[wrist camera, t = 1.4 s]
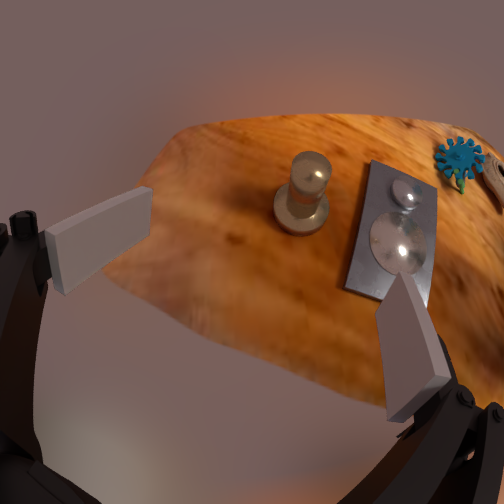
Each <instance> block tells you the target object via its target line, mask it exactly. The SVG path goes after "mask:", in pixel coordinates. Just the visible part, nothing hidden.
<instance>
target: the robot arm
mask: <svg viewBox="0 0 504 504" xmlns="http://www.w3.org/2000/svg"><path fill="white" fill-rule="evenodd" d="M152 196H153V189H151V188H148V187H144V186H141V187H138V188H136V189H133V190H131V191H128V192H125V193H123V194H120V195H118V196H116V197H113V198H111V199H108V200H106V201H104V202H101V203H99V204H97V205H94V206H92V207H90V208H88V209H85V210H83V211H81V212H79V213H77V214H75V215H73V216H70V217H68V218H66V219H64V220H62V221H60V222H58V223H56V224H54V225H52V226H50V227H48V228H46V229H45V230H44V231H42V232H40V233H38V226H37V218H36V213H35V212H33V211H28V210H27V211H21V212H18V213H15V214H14V215H12V216H11V217H10V218H9V220H10V226H11V233H12V236H11V235H8V231H7V225H6V224H3V223H0V504H102V503H101V502H99V501H98V500H97V499H96V498H94V497H93V496H91V495H89V494H88V493H86V492H85V491H84V490H82V489H81V488H79V487H78V486H77V485H75V484H74V483H73V482H71V481H69V480H67V479H66V478H64V477H63V476H61V475H59V474H58V473H56V472H55V471H53V470H52V469H50V468H48V467H47V466H46V465H44V464H43V458H42V452H41V447H40V444H39V441H38V439H37V437H36V435H35V432H34V427H33V390H34V389H33V388H34V372H35V361H36V351H37V344H38V337H39V330H40V324H41V318H42V313H43V308H44V304H45V299H46V294H47V290H48V284H47V280H48V279H50V278H51V277H52V279H53V283H54V288H55V289H56V290H57V291H59V292H60V293H62V294H63V295H65V296H66V295H67V294H68V293H70V292H71V291H72V290H73V289H75V288H76V287H77V286H79V285H80V284H81V283H82V282H84V281H85V280H87V279H88V278H89V277H91V276H92V275H93V274H95V273H96V272H97V271H99V270H100V269H101V268H103V267H104V266H106V265H107V264H108V263H110V262H111V261H113V260H114V259H115V258H117V257H118V256H120V255H121V254H122V253H124V252H125V251H127V250H128V249H130V248H131V247H133V246H134V245H136V244H137V243H138V242H140V241H141V240H143V239H144V238H146V237H147V236H149V234H150V219H151V207H152ZM375 316H376V322H377V328H378V334H379V341H380V348H381V356H382V364H383V373H384V382H385V394H386V408H387V421H391V422H399V423H404V422H405V421H406V420H407V419H409V418H410V417H411V416H412V415H414V423H413V424H412V425H411V426H409V427H408V428H407V429H406V430H404V431H403V432H402V433H400V434H399V435H398V436H397V438H399V437H401V438H400V439H399V440H398V441H397V443H396V444H395V445H394V446H393V447H392V449H391V450H390V451H389V452H388V453H387V454H386V456H385V457H384V458H383V459H382V460H381V461H380V462H379V463H378V464H377V466H376V467H375V468H374V469H373V470H372V471H371V472H370V473H369V474H368V475H367V476H366V477H365V478H364V479H363V480H362V481H361V482H360V483H359V484H358V485H357V486H356V487H355V488H354V489H353V490H352V491H350V492H349V493H348V494H347V495H346V496H345V497H344V498H343V499H342V500H340V501H339V502H338V503H337V504H497V500H498V495H499V490H500V485H501V480H502V474H503V467H504V409H503V407H502V406H500V405H499V404H498V403H496V402H491V403H490V404H489V405H488V406H487V407H486V408H485V409H484V410H483V409H481V408H479V407H477V406H475V399H474V397H473V395H472V393H471V392H470V391H469V389H468V388H466V387H465V386H463V385H460V384H458V381H457V378H456V374H455V371H454V368H453V365H452V362H451V361H450V360H451V359H450V356H449V354H448V351H447V348H446V345H445V343H444V342H443V340H442V339H441V337H440V336H439V335H438V334H436V331H435V328H434V326H433V323H432V321H431V318H430V316H429V313H428V311H427V309H426V306H425V304H424V302H423V299H422V297H421V295H420V293H419V290H418V288H417V286H416V284H415V282H414V280H413V277H412V275H410V274H407V273H404V272H402V271H399V272H398V274H397V275H396V277H395V279H394V281H393V283H392V285H391V287H390V288H389V290H388V292H387V294H386V296H385V297H384V299H383V301H382V303H381V304H380V306H379V308H378V309H377V311H376V313H375ZM473 451H474V455H473V457H472V458H471V459H470V460H467V458H468V455H469V454H470V453H471V452H473Z"/></svg>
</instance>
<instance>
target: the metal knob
mask: <svg viewBox="0 0 504 504" xmlns="http://www.w3.org/2000/svg"><path fill="white" fill-rule="evenodd" d="M331 173H332V167H331V164H330V162H329V161H328V159H327V158H326V157H324V156H323V155H322V154H320V153H317V152H313V151H305V152H302V153H299V154H298V155H296V156H295V158H294V159H293V162H292V168H291V174H290V180H289V183H287V184H285V185H283V186H282V187H281V188H280V189H279V190H278V191H277V193H276V195H275V198H274V205H273V215H274V218H275V221H276V222H277V224H278V225H279V227H280V228H281V229H282V230H284V231H285V232H287V233H289V234H291V235H295V236H308V235H312V234H314V233H316V232H317V231H318V230H319V229H320V228H321V227H322V226H323V224H324V222H325V220H326V218H327V216H328V213H329V202H328V199H327V197H326V195H325V193H324V191H325V189H326V186H327V183H328V181H329V178H330V176H331Z"/></svg>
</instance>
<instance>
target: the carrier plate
mask: <svg viewBox="0 0 504 504" xmlns="http://www.w3.org/2000/svg"><path fill="white" fill-rule="evenodd" d="M436 226H437V188H435V187H433V186H431V185H429V184H427V183H425V182H422V181H420V180H418V179H416V178H414V177H412V176H410V175H408V174H405V173H403V172H401V171H399V170H396V169H394V168H392V167H389V166H387V165H385V164H382V163H380V162H377V161H375V160H371V162H370V164H369V170H368V176H367V182H366V188H365V193H364V199H363V204H362V209H361V214H360V219H359V224H358V228H357V233H356V237H355V241H354V246H353V250H352V254H351V258H350V262H349V266H348V270H347V274H346V277H345V281H344V285H343V288H342V289H345V290H347V291H350V292H353V293H356V294H359V295H362V296H365V297H368V298H371V299H374V300H377V301H380V302H382V301H383V299H384V297H385V296H386V294H387V292H388V290H389V288H390V287H391V285H392V283H393V281H394V279H395V277H396V275H397V274H398V272H399V271H402V272H404V273H407V274H410V275H412V277H413V280H414V282H415V284H416V286H417V288H418V290H419V293H420V295H421V297H422V299H423V302H424V304H425V306H426V308H427V303H428V297H429V291H430V285H431V278H432V271H433V262H434V253H435V241H436Z"/></svg>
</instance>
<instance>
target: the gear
mask: <svg viewBox="0 0 504 504" xmlns="http://www.w3.org/2000/svg"><path fill="white" fill-rule="evenodd" d="M457 139H458V141H457V144H456V145H455V146H453V144H454V142H453V139H447V143H448V145H449V146H450V147H449V150H446V149H445V146H444V145H443V144H442V145H440V146H439V150H440V152H443V153H445V154H446V156H444V157H443V156H441V154H440V153H437V154H436V156H435V158H436V160H437V161H445V162H447V163H446V164H443V163H441V162H438V163H437V165H438V168H439V171H442V170H444V169H446V168H452V169H451V170H445V171H444V173H445V176H446V177H447V178H448V179H449V178H451V176H452V175H453V174H454V175H455V178H456V185H457V187H458V188H460V192H461V194H464V189H463V188H464V187H465V177H467V176H468V179H474V173H473V172H472V170H471V167H472V166H476V170H477V172H478V173H480V172H482V171H483V167H482V165H481V164H478V163H477V162H476V161H475V159H478V160H479V161H480V162H481V163H484V162H485V155H483V154H481V153H482V149H481V146H480V145H477V146H475V147H472V146H474V145H475V144H474V141H473V140H472V139H471V138H470V139H468V141H467V142H466V143H465V144H463V143H464V139H463V137H459V136H458V137H457ZM461 144H463V145H461ZM474 152H477V153H479V154H481V155H478V154H475V153H474ZM466 170H468V173H467V174H466Z"/></svg>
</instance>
